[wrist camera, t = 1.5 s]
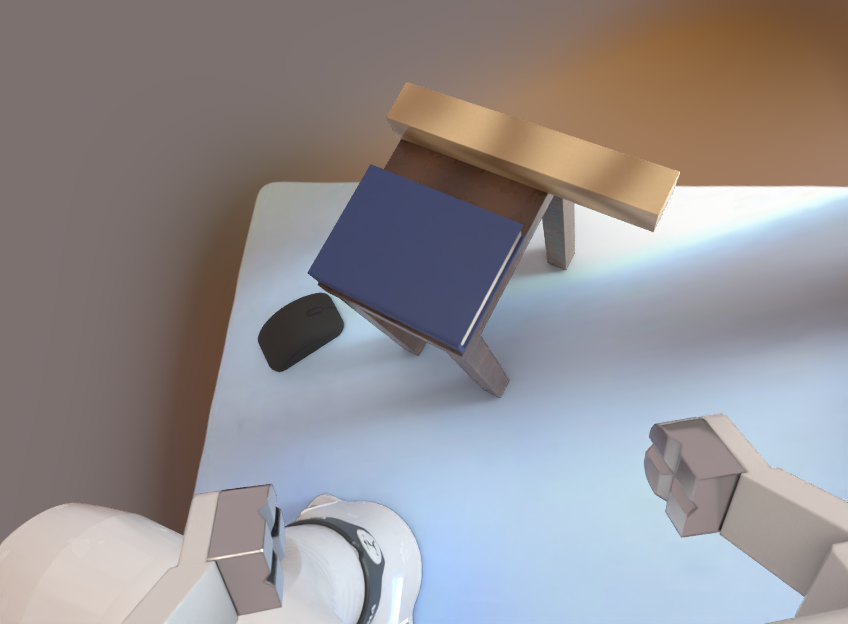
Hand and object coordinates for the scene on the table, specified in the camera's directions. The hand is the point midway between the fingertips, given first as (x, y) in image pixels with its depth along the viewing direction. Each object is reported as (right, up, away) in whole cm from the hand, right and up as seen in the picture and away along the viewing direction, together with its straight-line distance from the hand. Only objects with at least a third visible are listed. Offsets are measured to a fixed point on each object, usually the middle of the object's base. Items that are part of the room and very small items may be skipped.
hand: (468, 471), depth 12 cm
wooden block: (+7, +16, +35) cm, 39 cm away
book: (-1, +8, +35) cm, 36 cm away
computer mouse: (-17, +1, +64) cm, 66 cm away
